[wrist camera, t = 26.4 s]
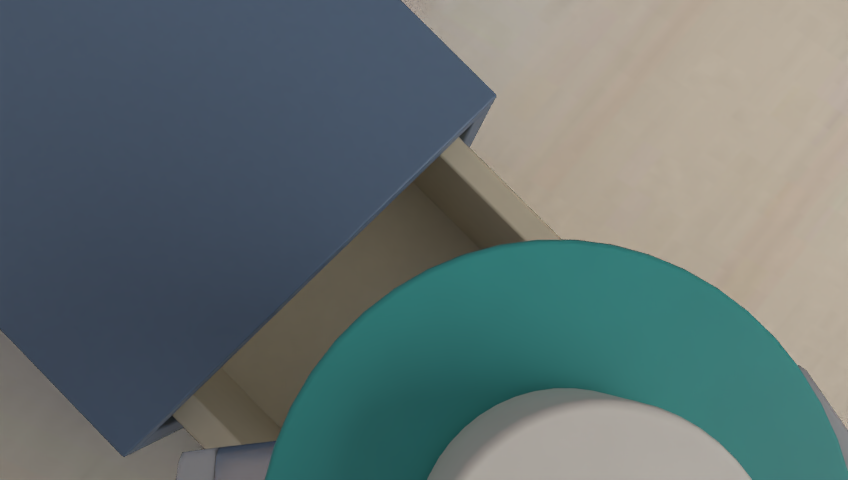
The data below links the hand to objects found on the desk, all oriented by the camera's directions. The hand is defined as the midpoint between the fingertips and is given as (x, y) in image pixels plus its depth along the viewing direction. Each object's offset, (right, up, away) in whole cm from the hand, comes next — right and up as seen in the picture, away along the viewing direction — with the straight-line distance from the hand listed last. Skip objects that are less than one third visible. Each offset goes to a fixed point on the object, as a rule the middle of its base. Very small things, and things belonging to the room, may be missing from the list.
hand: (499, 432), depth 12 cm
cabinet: (-10, +7, +19) cm, 23 cm away
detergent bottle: (0, -1, +6) cm, 6 cm away
